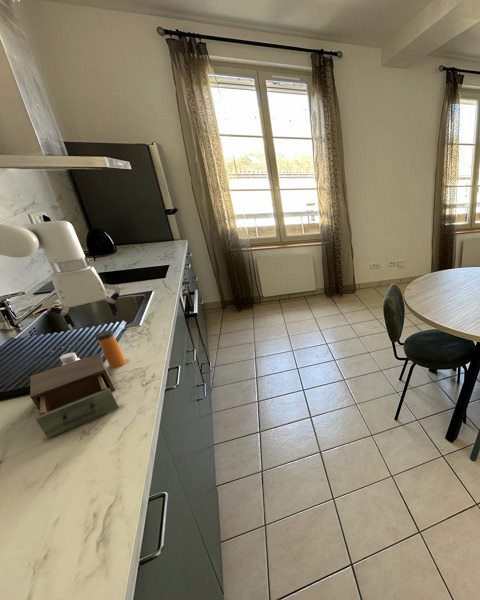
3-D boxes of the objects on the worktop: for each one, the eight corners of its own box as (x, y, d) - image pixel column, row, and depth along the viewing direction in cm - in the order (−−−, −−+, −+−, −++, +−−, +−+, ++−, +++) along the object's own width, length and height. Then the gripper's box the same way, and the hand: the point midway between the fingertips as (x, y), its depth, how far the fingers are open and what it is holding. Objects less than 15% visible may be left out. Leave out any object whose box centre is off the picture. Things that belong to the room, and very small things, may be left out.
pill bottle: (85, 377, 101) (74, 356, 98) (67, 382, 99) (55, 361, 96) (89, 370, 104) (78, 349, 101) (71, 375, 103) (60, 354, 100)
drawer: (121, 415, 83) (112, 396, 80) (48, 447, 74) (35, 428, 72) (111, 388, 93) (103, 371, 91) (46, 414, 85) (35, 396, 82)
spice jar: (128, 365, 106) (113, 332, 101) (111, 371, 103) (95, 338, 99) (125, 360, 109) (111, 328, 104) (109, 366, 106) (94, 334, 101)
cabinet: (116, 391, 93) (105, 369, 90) (45, 420, 84) (30, 396, 81) (109, 373, 102) (98, 353, 99) (43, 398, 93) (30, 376, 90)
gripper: (107, 257, 101) (127, 307, 107) (26, 271, 89) (54, 326, 96) (111, 260, 96) (132, 313, 102) (26, 276, 85) (55, 334, 91)
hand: (94, 320), depth 99 cm, fingers open, 9 cm apart
